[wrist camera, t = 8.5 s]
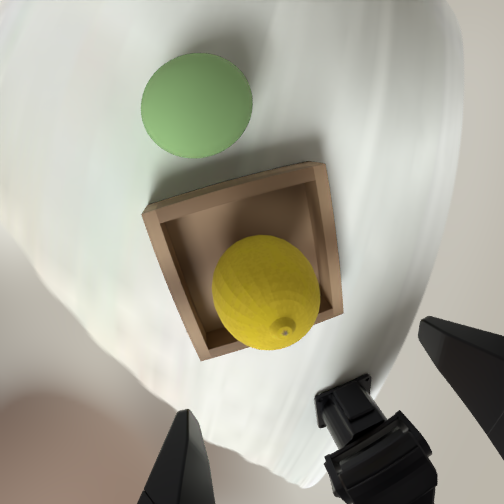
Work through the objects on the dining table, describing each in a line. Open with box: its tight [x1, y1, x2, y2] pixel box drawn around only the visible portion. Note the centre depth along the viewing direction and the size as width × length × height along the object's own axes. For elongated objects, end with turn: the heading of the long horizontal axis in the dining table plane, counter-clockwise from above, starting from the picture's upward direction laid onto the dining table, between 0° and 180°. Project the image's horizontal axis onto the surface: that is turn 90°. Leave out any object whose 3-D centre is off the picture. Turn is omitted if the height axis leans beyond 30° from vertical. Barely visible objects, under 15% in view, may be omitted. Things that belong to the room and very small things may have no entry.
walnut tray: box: [141, 161, 343, 361], centre depth 18 cm, size 11×11×2 cm
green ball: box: [141, 53, 253, 158], centre depth 13 cm, size 6×6×6 cm
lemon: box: [212, 235, 320, 350], centre depth 15 cm, size 6×6×8 cm
